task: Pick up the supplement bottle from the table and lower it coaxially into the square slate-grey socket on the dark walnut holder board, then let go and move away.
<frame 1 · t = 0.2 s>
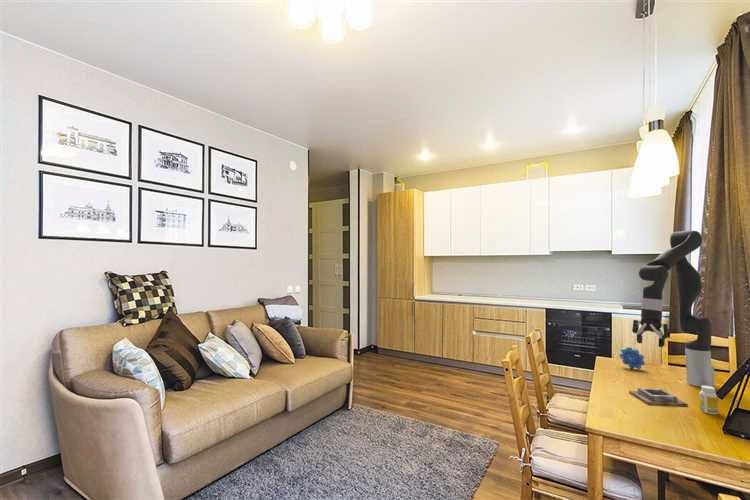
hand: (649, 345, 162), 22 cm above the table, tool pointing down, fingers open, 8 cm apart
socket holder: (656, 399, 156), on the table
grapes: (632, 369, 201), on the table
supplement bottle: (709, 412, 143), on the table
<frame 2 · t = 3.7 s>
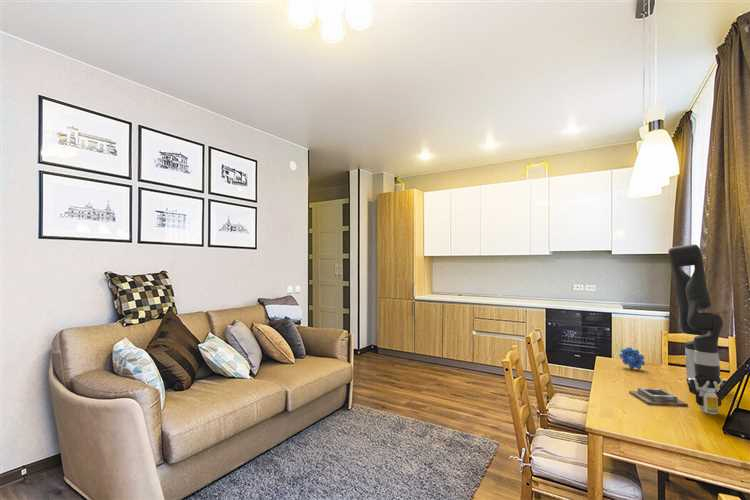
hand: (708, 405, 143), 3 cm above the table, tool pointing down, fingers closed on supplement bottle, 5 cm apart
supplement bottle: (709, 412, 143), on the table, touching gripper
everything else where it was.
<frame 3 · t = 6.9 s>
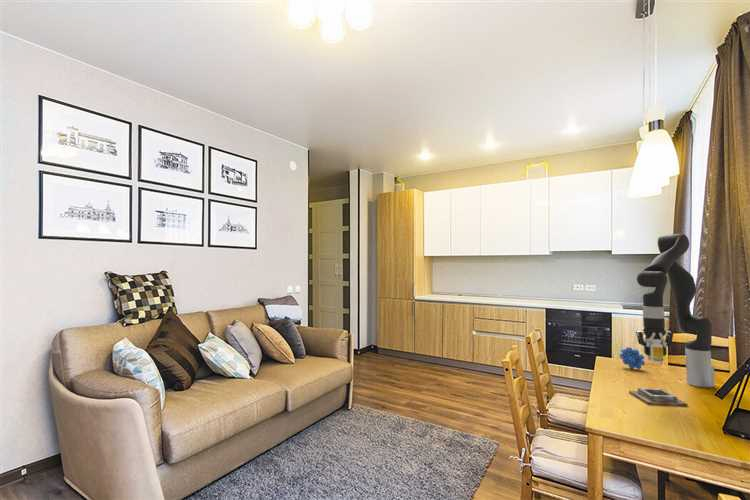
hand: (655, 355, 157), 19 cm above the table, tool pointing down, fingers closed on supplement bottle, 5 cm apart
supplement bottle: (655, 361, 157), point 16 cm above the table, touching gripper
everything else where it was.
when the fingers open (5 cm above the table, at t = 9.9 s): supplement bottle drops 1 cm, resting on socket holder.
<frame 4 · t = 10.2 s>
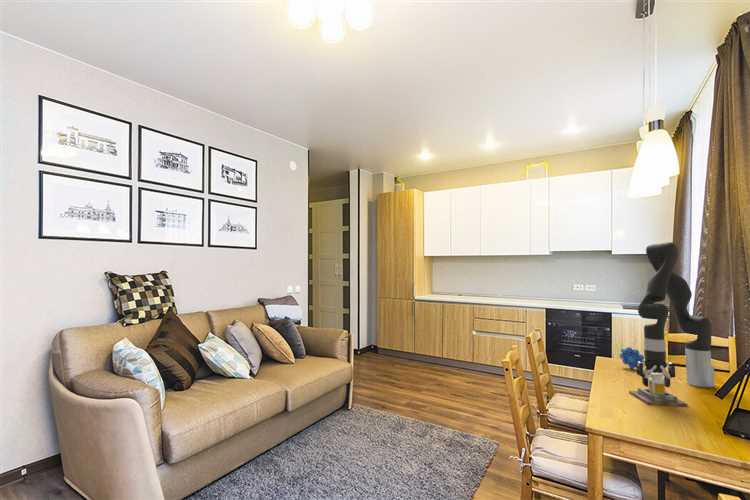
hand: (656, 386, 156), 6 cm above the table, tool pointing down, fingers open, 8 cm apart
supplement bottle: (657, 397, 156), point 1 cm above the table, touching socket holder
everything else where it was.
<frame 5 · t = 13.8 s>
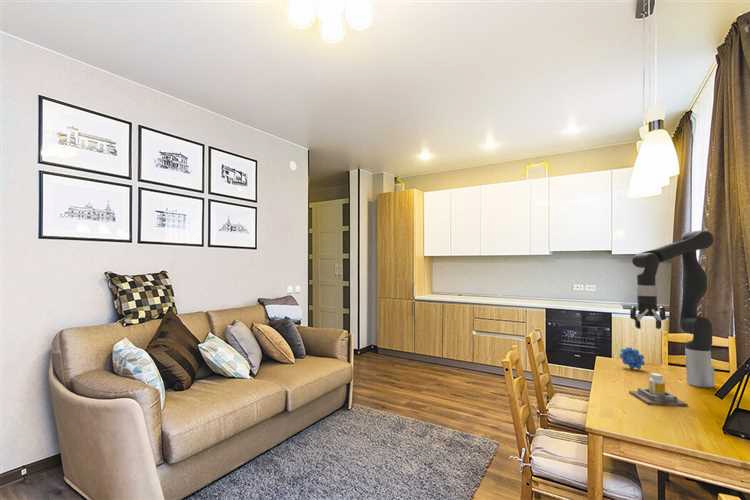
hand: (648, 328, 171), 28 cm above the table, tool pointing down, fingers open, 8 cm apart
nothing on the table moved.
at the end: supplement bottle 0.2 cm off-centre on the socket holder, point 0.8 cm above the socket holder's base; supplement bottle tilted 0°; the gripper is holding nothing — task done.
